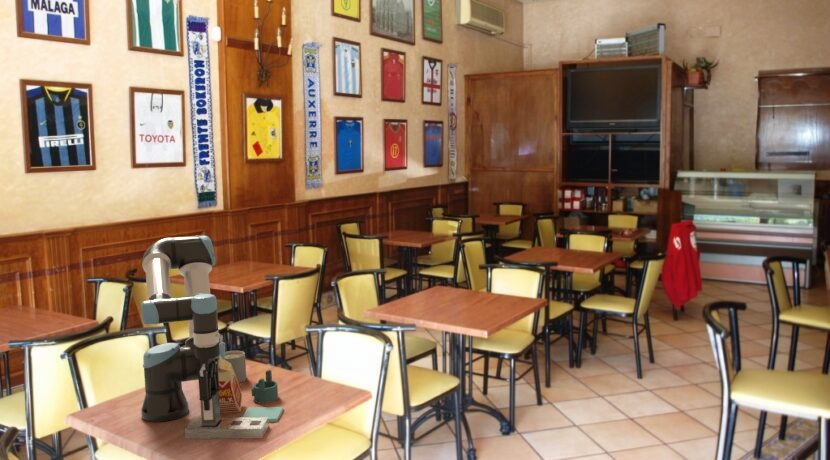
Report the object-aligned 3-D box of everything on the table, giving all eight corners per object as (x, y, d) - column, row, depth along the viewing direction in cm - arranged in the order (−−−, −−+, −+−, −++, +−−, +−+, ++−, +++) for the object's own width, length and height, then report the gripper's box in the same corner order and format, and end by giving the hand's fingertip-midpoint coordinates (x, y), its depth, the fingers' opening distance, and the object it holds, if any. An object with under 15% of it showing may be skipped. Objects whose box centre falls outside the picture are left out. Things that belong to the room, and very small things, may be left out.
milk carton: (240, 412, 237) (233, 369, 226) (212, 415, 235) (204, 371, 225) (242, 393, 244) (235, 350, 234) (215, 395, 243) (207, 352, 232)
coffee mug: (239, 384, 263) (237, 359, 261) (215, 383, 265) (213, 357, 263) (254, 372, 276) (253, 348, 274) (231, 371, 278) (229, 347, 276)
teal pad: (240, 422, 227) (240, 419, 227) (248, 410, 237) (248, 407, 237) (277, 421, 227) (276, 418, 227) (283, 409, 237) (283, 407, 237)
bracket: (271, 392, 254) (270, 368, 253) (282, 399, 247) (281, 375, 246) (248, 398, 249) (246, 374, 248) (258, 405, 241) (257, 380, 240)
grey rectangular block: (202, 435, 217) (200, 395, 216) (207, 429, 222) (204, 390, 220) (216, 435, 217) (214, 395, 216) (221, 429, 222) (218, 390, 220)
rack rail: (185, 438, 215) (184, 429, 215) (194, 426, 224) (194, 417, 224) (261, 438, 215) (261, 428, 214) (268, 426, 224) (268, 416, 223)
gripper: (209, 352, 207) (214, 427, 210) (226, 336, 225) (230, 405, 227) (184, 352, 207) (189, 427, 210) (203, 336, 225) (208, 405, 228)
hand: (211, 415), depth 219 cm, fingers closed on grey rectangular block, 4 cm apart
